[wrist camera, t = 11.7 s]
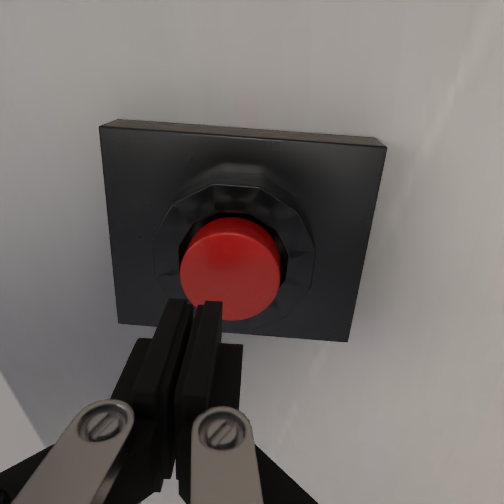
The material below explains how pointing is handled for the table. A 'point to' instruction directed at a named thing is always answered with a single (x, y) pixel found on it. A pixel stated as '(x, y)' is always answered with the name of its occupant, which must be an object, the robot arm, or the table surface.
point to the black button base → (241, 216)
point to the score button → (232, 267)
